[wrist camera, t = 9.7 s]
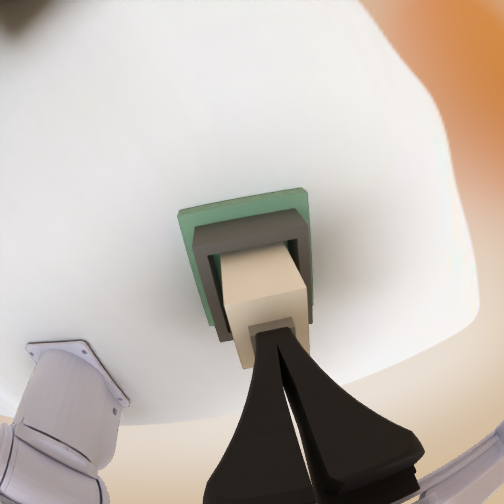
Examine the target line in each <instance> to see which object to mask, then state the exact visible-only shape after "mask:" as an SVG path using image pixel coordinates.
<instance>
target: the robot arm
mask: <svg viewBox="0 0 504 504" xmlns="http://www.w3.org/2000/svg"><path fill="white" fill-rule="evenodd" d="M255 339H256V351H255V362H254V368H253V374H252V379H251V384H250V388H249V392H248V396H247V399H246V403H245V406H244V409H243V412H242V415H241V418H240V421H239V423H238V426H237V428H236V430H235V433H234V435H233V437H232V439H231V442H230V444H229V446H228V447H227V449H226V452H225V453H224V455H223V457H222V459H221V461H220V463H219V464H218V466H217V468H216V469H215V471H214V472H213V474H212V475H211V477H210V478H209V480H208V482H207V485H206V488H205V492H204V496H203V504H401V503H403V502H405V501H407V500H409V499H411V498H413V497H415V496H417V495H419V494H421V495H420V498H419V500H418V501H416V502H414V503H412V504H482V503H483V502H485V501H486V500H487V499H488V498H489V497H490V496H491V495H492V494H493V493H494V492H495V491H496V490H497V489H498V488H499V487H501V486H502V484H503V483H504V421H503V422H502V423H501V424H499V425H498V426H497V427H496V429H495V430H494V431H493V432H491V433H490V434H489V435H487V436H486V437H485V438H484V439H482V440H481V441H480V442H478V443H477V444H475V445H474V446H473V447H471V448H470V449H468V450H467V451H466V452H464V453H463V454H461V455H460V456H458V457H457V458H455V459H453V460H452V461H450V462H449V463H447V464H445V465H444V466H442V467H441V468H439V469H437V470H435V471H434V472H432V473H430V474H428V475H427V476H425V477H423V478H421V479H419V480H417V479H416V477H415V475H414V474H415V473H416V469H415V467H414V464H415V463H416V462H417V461H418V460H419V459H420V458H421V457H422V456H423V455H424V453H425V451H424V448H423V446H422V445H421V443H420V441H419V440H418V438H417V437H416V436H415V434H414V433H413V432H412V431H410V430H408V429H405V428H403V427H401V426H399V425H397V424H395V423H393V422H391V421H389V420H387V419H386V418H384V417H382V416H380V415H379V414H377V413H375V412H374V411H372V410H371V409H369V408H368V407H366V406H365V405H363V404H362V403H360V402H359V401H357V400H356V399H355V398H353V397H352V396H351V395H350V394H348V393H347V392H346V391H345V390H343V389H342V388H341V387H340V386H339V385H338V384H337V383H335V382H334V381H333V380H332V379H331V378H330V377H329V376H328V375H327V374H326V373H325V372H324V371H323V370H322V369H321V368H320V367H319V366H318V365H317V363H316V362H315V361H314V360H313V359H312V358H311V357H310V355H309V354H308V353H307V352H306V351H305V349H304V348H303V347H302V345H301V344H300V343H299V341H298V340H297V338H296V337H295V335H294V334H293V332H292V331H291V329H290V328H289V327H282V328H278V329H273V330H268V331H263V332H258V333H257V334H256V335H255ZM25 349H26V351H27V352H28V353H29V355H30V356H31V357H32V359H33V360H34V361H35V363H36V367H35V369H34V371H33V373H32V375H31V378H30V380H29V382H28V384H27V387H26V389H25V392H24V394H23V397H22V399H21V402H20V404H19V407H18V409H17V412H16V415H15V418H14V421H13V424H12V425H8V424H7V423H2V424H0V504H110V499H109V494H108V491H107V488H106V486H105V483H104V482H103V480H102V479H101V478H100V477H99V476H97V473H98V471H99V470H101V469H103V468H104V467H106V466H107V465H108V464H109V462H110V461H111V460H112V458H113V456H114V453H115V447H116V440H117V433H118V427H119V421H120V415H121V410H122V407H129V405H130V402H129V401H128V400H127V398H126V397H125V396H124V395H123V393H122V392H121V391H120V390H119V388H118V387H117V386H116V385H115V383H114V382H113V381H112V379H111V378H110V377H109V375H108V374H107V373H106V371H105V370H104V369H103V367H102V366H101V364H100V363H99V361H98V360H97V359H96V357H95V356H94V354H93V353H92V351H91V350H90V348H89V347H88V345H87V344H86V343H85V342H83V341H72V342H57V343H39V344H26V346H25ZM283 387H284V389H283ZM284 390H285V393H286V396H287V398H288V401H289V404H290V407H291V409H292V412H293V415H294V417H295V421H296V423H297V426H298V429H299V433H300V437H301V440H302V445H303V449H304V453H305V457H306V461H307V465H308V469H309V474H310V478H311V481H310V478H309V475H308V472H307V469H306V466H305V462H304V459H303V456H302V453H301V449H300V446H299V443H298V439H297V436H296V433H295V429H294V426H293V422H292V419H291V416H290V412H289V408H288V405H287V401H286V398H285V394H284ZM311 482H312V484H311Z"/></svg>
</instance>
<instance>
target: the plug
mask: <svg viewBox="0 0 504 504" xmlns="http://www.w3.org/2000/svg"><path fill="white" fill-rule="evenodd" d="M220 257H221V272H222V287H223V300H224V307H225V311H226V314H227V318H228V321H229V325H230V328H231V331H232V335H233V338H234V342H235V345H236V348H237V351H238V355H239V358H240V361H241V364H242V368H243V369H247V368H252V367H254V362H255V351H256V339H255V335H256V334H257V333H258V332H263V331H268V330H273V329H278V328H282V327H289V328H290V329H291V331H292V332H293V334H294V335H295V337H296V338H297V340H298V341H299V343H300V344H301V345H302V347H303V348H304V349H305V351H306V352H307V353H308V354H309V355H310V346H309V322H308V302H307V287H306V285H305V283H304V281H303V279H302V277H301V275H300V273H299V271H298V270H297V268H296V266H295V264H294V262H293V260H292V258H291V256H290V254H289V252H288V250H287V248H286V246H285V244H284V242H283V241H281V242H276V243H270V244H265V245H260V246H255V247H249V248H244V249H239V250H234V251H229V252H223V253H220Z"/></svg>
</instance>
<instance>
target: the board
mask: <svg viewBox="0 0 504 504" xmlns="http://www.w3.org/2000/svg"><path fill="white" fill-rule="evenodd" d="M177 217H178V221H179V225H180V229H181V232H182V236H183V240H184V243H185V247H186V250H187V254H188V257H189V261H190V264H191V268H192V271H193V275H194V278H195V281H196V285H197V288H198V291H199V294H200V297H201V301H202V304H203V307H204V310H205V313H206V316H207V319H208V322H209V325H210V326H214V325H215V328H216V331H217V334H218V337H219V340H220V342H225V341H231V340H234V338H233V335H232V331H231V328H230V325H229V321H228V318H227V314H226V311H225V307H224V300H223V287H222V272H221V257H220V253H223V252H229V251H234V250H239V249H244V248H249V247H255V246H260V245H265V244H270V243H276V242H281V241H283V242H284V244H285V246H286V248H287V250H288V252H289V254H290V256H291V258H292V260H293V262H294V264H295V266H296V268H297V270H298V271H299V273H300V275H301V277H302V279H303V281H304V283H305V285H306V287H307V302H308V322H309V324H312V323H313V320H312V306H313V278H312V255H311V237H310V221H309V207H308V194H307V192H306V191H305V190H304V189H303V188H297V189H290V190H284V191H278V192H272V193H266V194H260V195H254V196H249V197H243V198H238V199H232V200H227V201H222V202H217V203H212V204H207V205H202V206H197V207H192V208H188V209H183V210H179V213H178V215H177Z"/></svg>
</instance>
